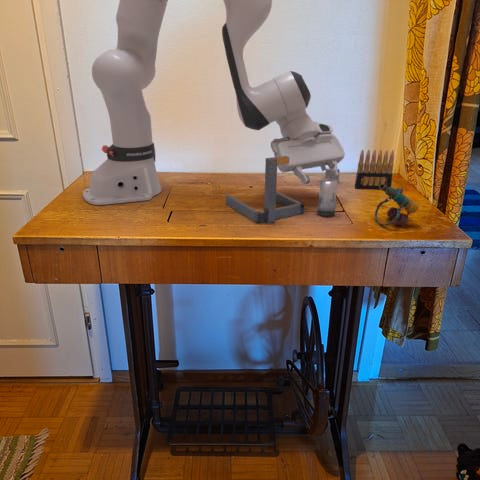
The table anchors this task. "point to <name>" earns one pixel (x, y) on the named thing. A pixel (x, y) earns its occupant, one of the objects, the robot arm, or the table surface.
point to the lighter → (329, 172)
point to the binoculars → (402, 202)
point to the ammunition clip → (374, 171)
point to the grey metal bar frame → (269, 198)
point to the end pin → (327, 197)
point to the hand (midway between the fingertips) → (321, 180)
